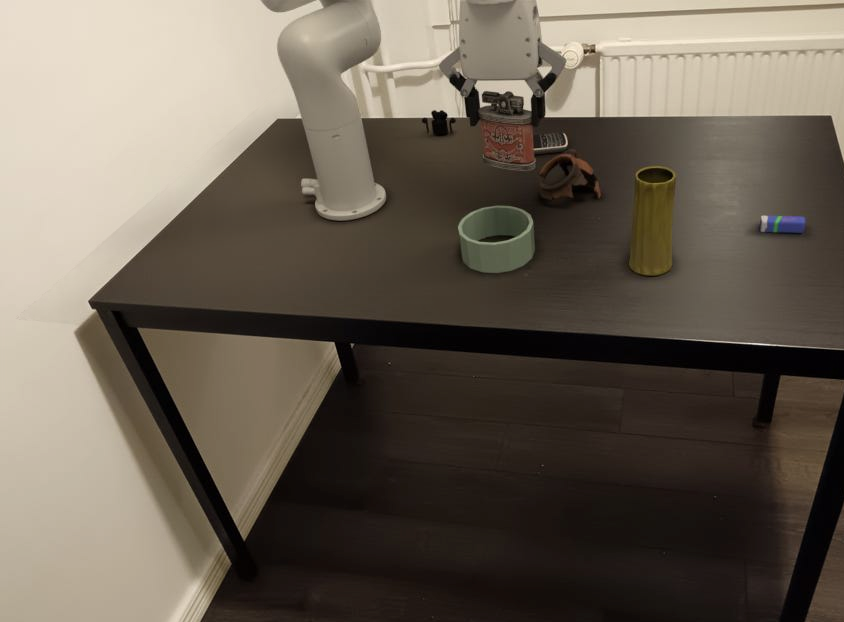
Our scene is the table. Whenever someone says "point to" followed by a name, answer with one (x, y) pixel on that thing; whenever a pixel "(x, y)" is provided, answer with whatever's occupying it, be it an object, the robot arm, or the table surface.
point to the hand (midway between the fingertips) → (506, 121)
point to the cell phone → (549, 143)
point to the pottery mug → (568, 176)
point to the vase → (652, 221)
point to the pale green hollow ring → (497, 253)
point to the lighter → (507, 132)
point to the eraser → (782, 224)
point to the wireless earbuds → (439, 123)
